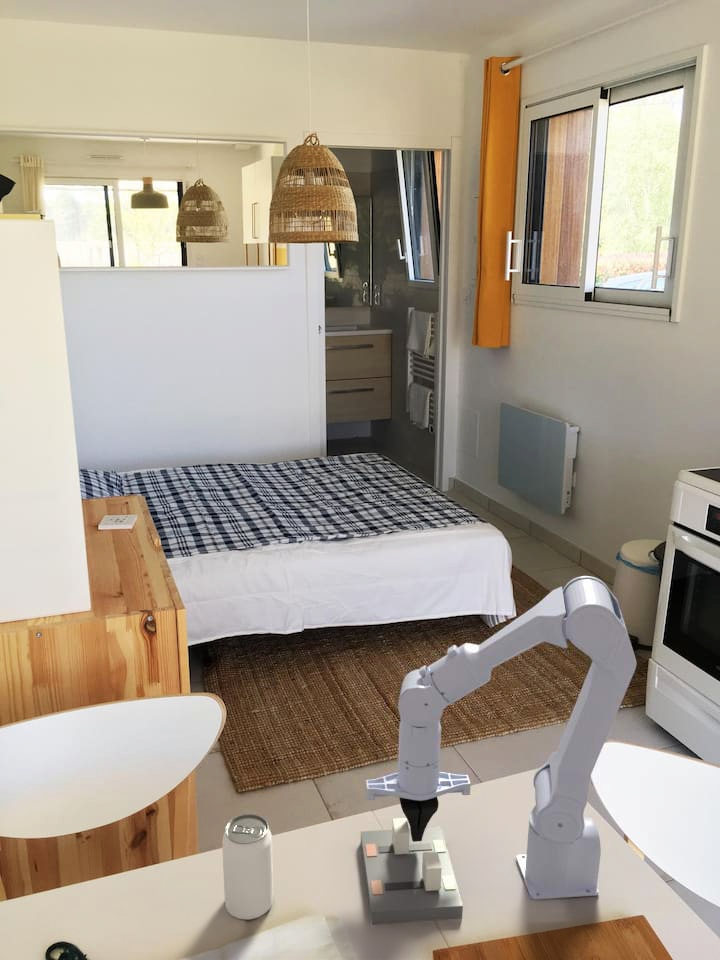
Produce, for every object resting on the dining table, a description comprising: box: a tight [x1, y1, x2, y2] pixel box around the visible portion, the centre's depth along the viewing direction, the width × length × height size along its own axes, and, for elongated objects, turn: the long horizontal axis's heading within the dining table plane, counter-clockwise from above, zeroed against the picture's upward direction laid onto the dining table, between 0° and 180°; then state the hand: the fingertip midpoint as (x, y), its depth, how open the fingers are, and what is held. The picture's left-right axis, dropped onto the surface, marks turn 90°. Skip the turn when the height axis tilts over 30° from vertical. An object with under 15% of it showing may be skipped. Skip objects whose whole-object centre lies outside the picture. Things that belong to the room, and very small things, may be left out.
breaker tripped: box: [391, 817, 410, 854], centre depth 117 cm, size 2×3×4 cm, turn 6°
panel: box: [360, 826, 464, 925], centre depth 115 cm, size 12×15×2 cm
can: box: [221, 813, 274, 921], centre depth 109 cm, size 6×6×12 cm
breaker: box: [422, 852, 442, 891], centre depth 110 cm, size 2×3×4 cm, turn 5°
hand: (416, 836), depth 117 cm, fingers closed
